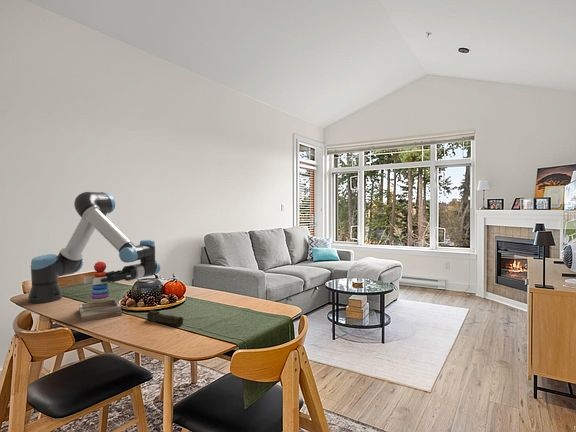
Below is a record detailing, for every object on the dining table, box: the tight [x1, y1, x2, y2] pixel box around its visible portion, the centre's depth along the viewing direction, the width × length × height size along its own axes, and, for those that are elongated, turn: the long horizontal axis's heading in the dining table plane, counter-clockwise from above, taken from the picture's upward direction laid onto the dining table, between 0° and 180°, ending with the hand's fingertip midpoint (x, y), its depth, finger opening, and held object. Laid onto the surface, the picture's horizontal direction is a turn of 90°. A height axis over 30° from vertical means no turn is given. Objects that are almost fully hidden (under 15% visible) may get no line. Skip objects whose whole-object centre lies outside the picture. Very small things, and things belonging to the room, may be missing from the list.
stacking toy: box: [90, 260, 111, 303], centre depth 167 cm, size 8×8×19 cm
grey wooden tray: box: [78, 298, 123, 323], centre depth 167 cm, size 20×16×4 cm
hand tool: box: [146, 309, 184, 328], centre depth 153 cm, size 19×4×5 cm, turn 62°
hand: (89, 281), depth 162 cm, fingers closed on stacking toy, 6 cm apart
